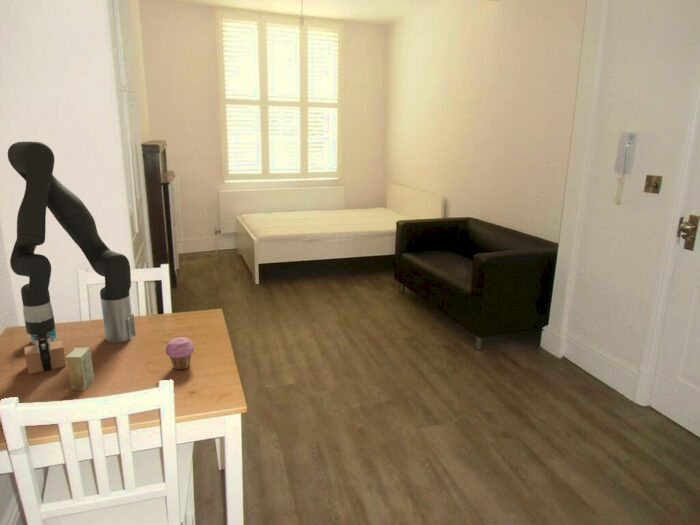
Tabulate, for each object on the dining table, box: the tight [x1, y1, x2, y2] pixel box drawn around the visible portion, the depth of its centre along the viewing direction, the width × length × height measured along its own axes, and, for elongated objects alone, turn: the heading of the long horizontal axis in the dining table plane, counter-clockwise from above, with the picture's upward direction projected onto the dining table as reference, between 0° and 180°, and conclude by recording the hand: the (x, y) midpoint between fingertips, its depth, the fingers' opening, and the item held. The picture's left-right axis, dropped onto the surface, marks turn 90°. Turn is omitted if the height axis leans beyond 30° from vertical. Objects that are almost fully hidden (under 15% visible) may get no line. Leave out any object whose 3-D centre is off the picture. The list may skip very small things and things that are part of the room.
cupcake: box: [165, 336, 195, 370], centre depth 153 cm, size 9×9×10 cm
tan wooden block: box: [24, 339, 67, 375], centre depth 149 cm, size 10×6×8 cm, turn 124°
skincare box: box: [65, 347, 95, 391], centre depth 138 cm, size 6×4×12 cm
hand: (46, 365), depth 149 cm, fingers closed on tan wooden block, 6 cm apart
